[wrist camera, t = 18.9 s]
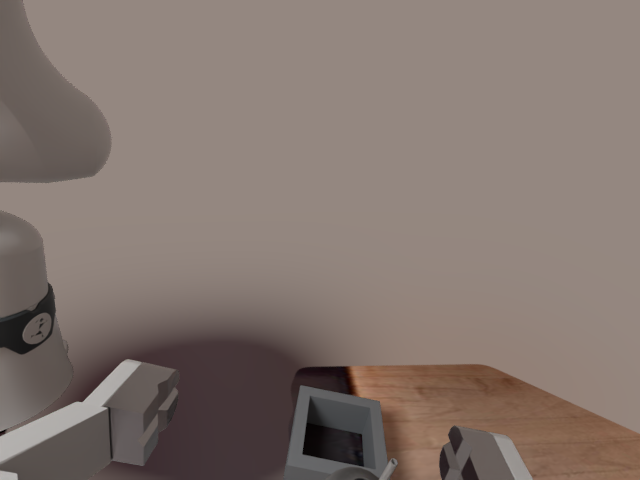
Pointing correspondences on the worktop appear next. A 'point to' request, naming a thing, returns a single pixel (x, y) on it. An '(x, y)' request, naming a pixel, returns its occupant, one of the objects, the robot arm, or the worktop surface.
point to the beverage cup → (362, 473)
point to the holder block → (339, 413)
